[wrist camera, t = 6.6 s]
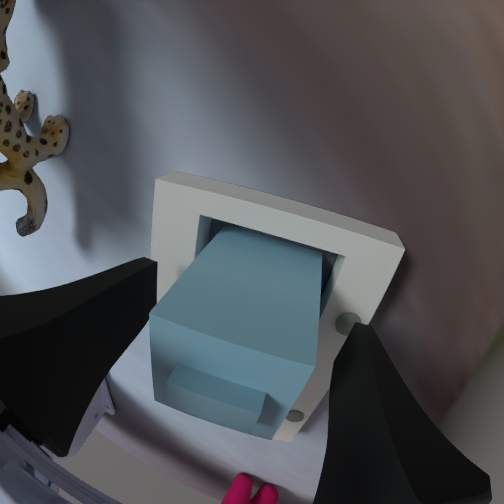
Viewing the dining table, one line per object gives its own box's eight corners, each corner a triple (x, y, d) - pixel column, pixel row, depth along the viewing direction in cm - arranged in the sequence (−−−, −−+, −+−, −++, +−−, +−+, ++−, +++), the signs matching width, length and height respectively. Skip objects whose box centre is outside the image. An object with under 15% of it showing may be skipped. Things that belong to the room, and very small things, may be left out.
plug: (294, 327, 13) (266, 457, 7) (212, 302, 14) (145, 415, 8) (322, 252, 11) (312, 390, 5) (225, 224, 12) (133, 330, 6)
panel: (293, 424, 17) (289, 445, 15) (164, 382, 18) (154, 400, 16) (396, 232, 10) (406, 251, 9) (174, 170, 11) (152, 180, 10)
